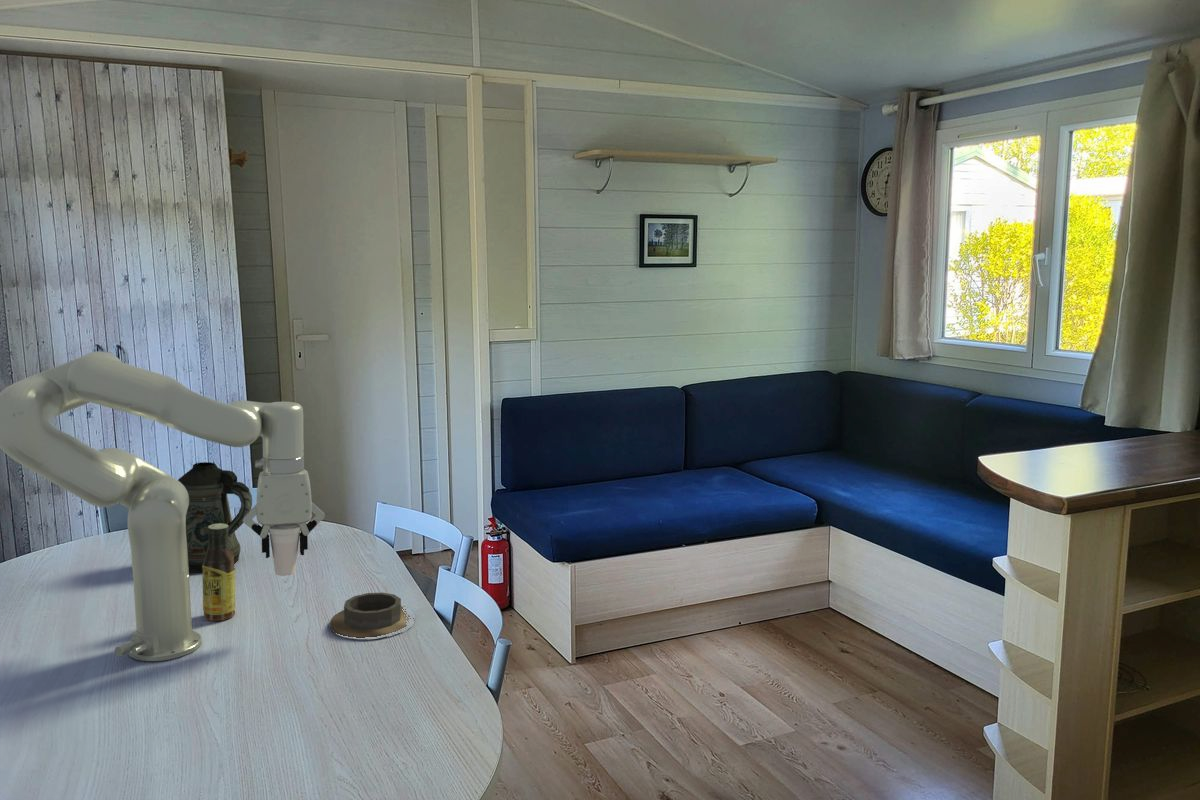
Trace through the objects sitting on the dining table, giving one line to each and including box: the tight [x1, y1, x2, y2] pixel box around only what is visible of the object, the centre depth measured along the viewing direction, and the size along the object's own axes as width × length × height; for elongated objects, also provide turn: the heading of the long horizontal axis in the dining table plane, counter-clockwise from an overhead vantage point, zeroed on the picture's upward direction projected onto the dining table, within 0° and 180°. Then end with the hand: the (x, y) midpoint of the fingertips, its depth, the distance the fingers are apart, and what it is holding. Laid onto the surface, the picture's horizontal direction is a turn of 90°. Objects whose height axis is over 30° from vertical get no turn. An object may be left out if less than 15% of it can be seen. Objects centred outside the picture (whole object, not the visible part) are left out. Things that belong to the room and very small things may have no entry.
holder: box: [329, 591, 414, 638], centre depth 184 cm, size 17×17×4 cm
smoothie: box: [268, 524, 301, 577], centre depth 176 cm, size 6×6×14 cm
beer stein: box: [177, 461, 253, 574], centre depth 219 cm, size 16×19×25 cm
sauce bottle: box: [201, 523, 236, 622], centre depth 185 cm, size 6×6×20 cm
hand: (284, 553), depth 176 cm, fingers closed on smoothie, 5 cm apart
